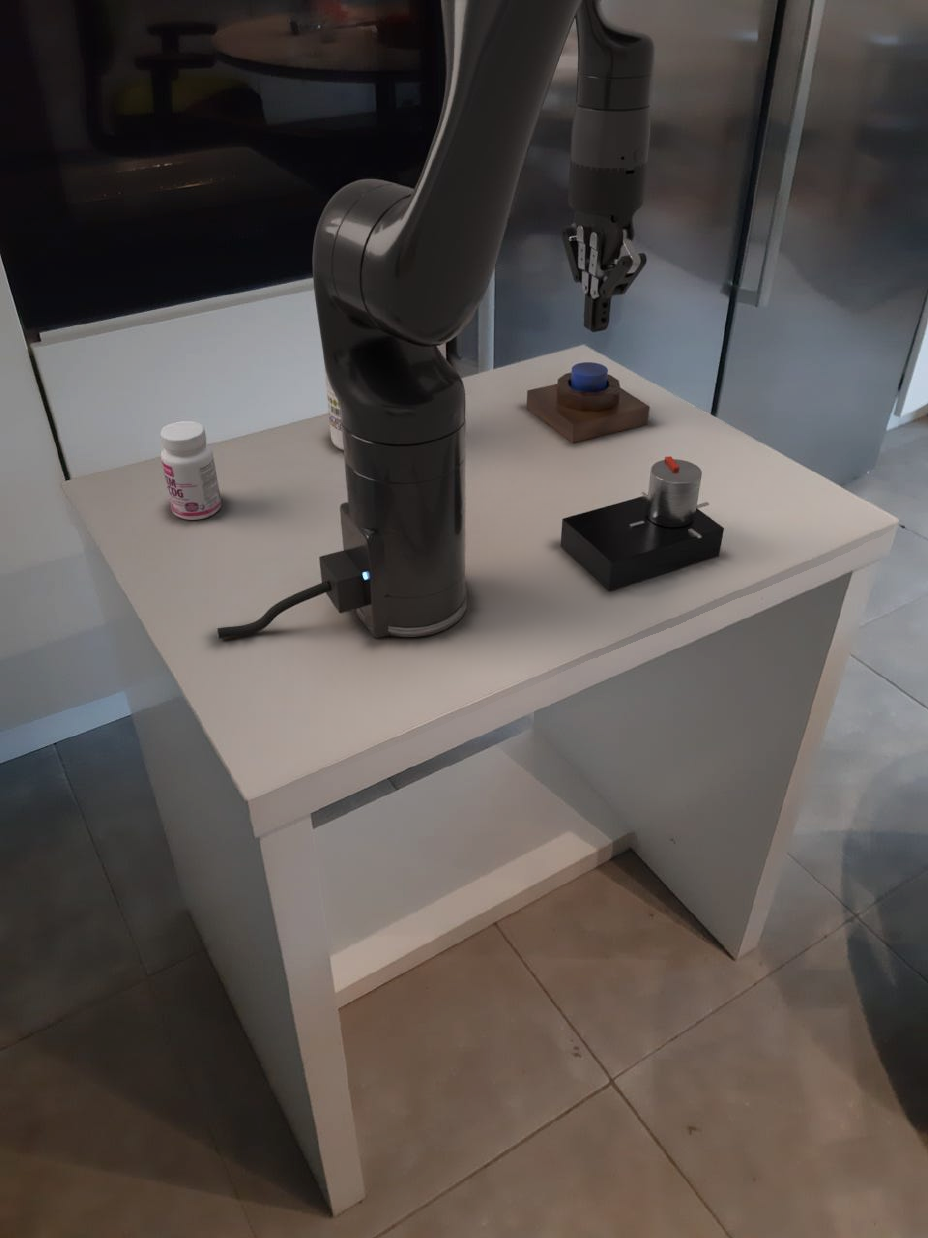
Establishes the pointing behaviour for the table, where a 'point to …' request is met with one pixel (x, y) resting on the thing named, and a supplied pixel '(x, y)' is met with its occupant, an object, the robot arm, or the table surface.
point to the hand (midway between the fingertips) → (595, 328)
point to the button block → (587, 409)
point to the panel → (636, 542)
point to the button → (589, 377)
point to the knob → (673, 492)
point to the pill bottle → (189, 471)
